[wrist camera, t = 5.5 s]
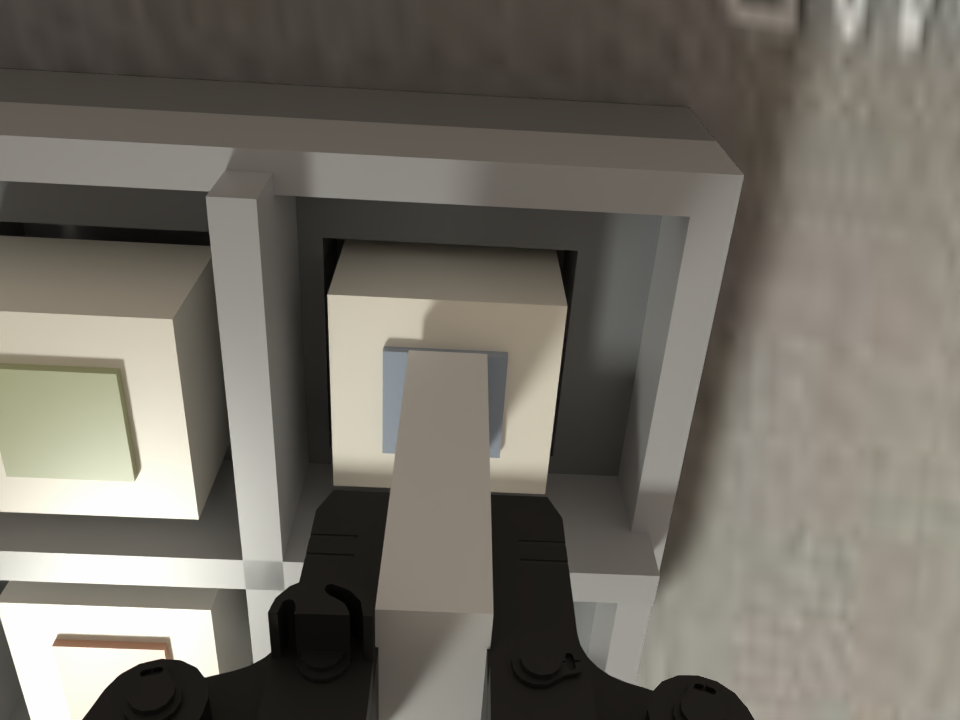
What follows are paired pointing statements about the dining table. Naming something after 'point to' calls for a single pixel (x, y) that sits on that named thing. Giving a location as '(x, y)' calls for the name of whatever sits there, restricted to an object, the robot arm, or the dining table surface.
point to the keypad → (308, 275)
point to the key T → (444, 349)
